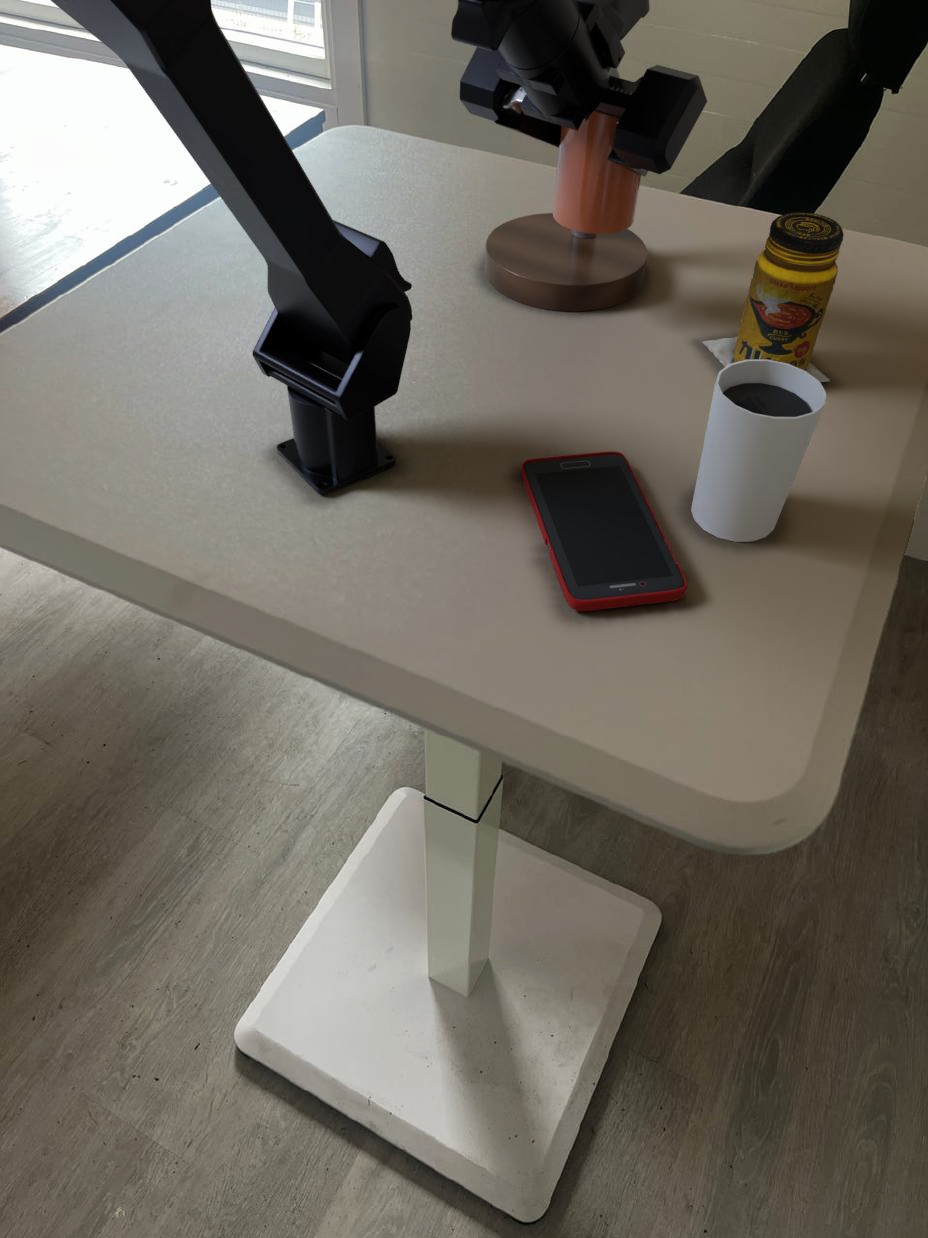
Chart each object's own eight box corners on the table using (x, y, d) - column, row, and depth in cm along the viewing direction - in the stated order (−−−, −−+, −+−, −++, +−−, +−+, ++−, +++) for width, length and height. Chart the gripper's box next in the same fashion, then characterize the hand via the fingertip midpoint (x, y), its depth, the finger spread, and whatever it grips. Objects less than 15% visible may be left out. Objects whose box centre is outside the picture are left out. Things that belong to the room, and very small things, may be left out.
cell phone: (621, 459, 68) (622, 448, 67) (689, 601, 58) (692, 590, 57) (517, 469, 67) (518, 458, 66) (569, 615, 57) (570, 604, 56)
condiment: (750, 396, 74) (791, 249, 66) (701, 343, 80) (733, 201, 71) (829, 383, 76) (880, 238, 67) (776, 332, 82) (816, 191, 73)
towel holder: (599, 328, 81) (628, 116, 69) (454, 281, 87) (457, 77, 74) (668, 263, 90) (705, 65, 78) (533, 224, 96) (547, 33, 83)
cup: (650, 225, 77) (671, 98, 70) (581, 240, 75) (596, 110, 68) (604, 194, 81) (620, 72, 74) (537, 208, 79) (547, 82, 72)
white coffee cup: (737, 560, 61) (777, 432, 54) (664, 506, 65) (692, 380, 57) (803, 521, 64) (849, 395, 57) (729, 472, 67) (764, 348, 60)
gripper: (725, -67, 57) (765, 91, 71) (489, -110, 65) (566, 40, 79) (633, 105, 58) (690, 227, 72) (413, 42, 66) (502, 162, 80)
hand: (610, 158), depth 76 cm, fingers closed on cup, 7 cm apart
